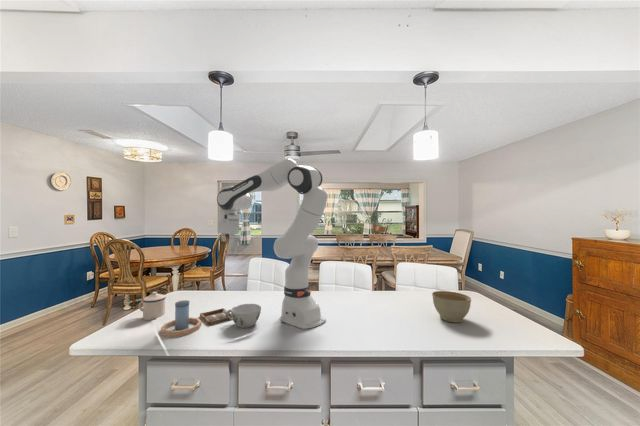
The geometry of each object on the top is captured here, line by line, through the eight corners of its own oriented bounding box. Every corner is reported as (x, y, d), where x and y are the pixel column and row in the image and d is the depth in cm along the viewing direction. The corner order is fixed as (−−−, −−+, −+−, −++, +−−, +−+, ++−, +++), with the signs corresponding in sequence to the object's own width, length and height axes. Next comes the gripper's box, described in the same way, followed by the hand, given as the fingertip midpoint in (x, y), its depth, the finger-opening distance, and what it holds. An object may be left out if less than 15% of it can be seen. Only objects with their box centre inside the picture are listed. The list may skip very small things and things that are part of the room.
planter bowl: (477, 327, 107) (477, 302, 107) (437, 324, 110) (437, 299, 110) (463, 313, 122) (463, 291, 123) (428, 311, 125) (428, 289, 126)
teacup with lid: (169, 313, 122) (170, 289, 122) (156, 321, 113) (156, 295, 113) (146, 312, 122) (146, 289, 123) (131, 320, 113) (131, 294, 114)
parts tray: (234, 320, 113) (234, 315, 113) (209, 327, 106) (209, 322, 106) (223, 312, 123) (223, 308, 123) (199, 318, 116) (199, 313, 116)
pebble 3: (229, 317, 115) (229, 310, 115) (222, 318, 113) (222, 312, 113) (226, 315, 118) (226, 308, 118) (220, 316, 115) (220, 310, 116)
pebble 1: (217, 322, 109) (217, 315, 110) (210, 324, 107) (210, 317, 108) (215, 320, 112) (215, 313, 112) (208, 321, 110) (208, 315, 110)
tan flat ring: (205, 331, 102) (205, 324, 102) (165, 342, 93) (165, 335, 93) (195, 320, 113) (195, 315, 113) (158, 330, 103) (158, 323, 103)
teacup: (265, 321, 112) (265, 303, 113) (254, 334, 100) (254, 314, 100) (234, 319, 115) (234, 302, 115) (219, 331, 102) (219, 311, 102)
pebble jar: (190, 329, 103) (190, 302, 103) (176, 333, 99) (176, 305, 100) (187, 325, 107) (187, 299, 107) (173, 328, 103) (173, 302, 103)
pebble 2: (227, 319, 112) (227, 313, 112) (220, 321, 110) (220, 314, 110) (224, 318, 114) (224, 311, 114) (217, 319, 112) (217, 313, 112)
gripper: (214, 216, 138) (214, 241, 138) (229, 215, 123) (229, 243, 123) (226, 216, 143) (225, 240, 142) (241, 216, 127) (241, 243, 127)
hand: (227, 242), depth 132 cm, fingers open, 8 cm apart
